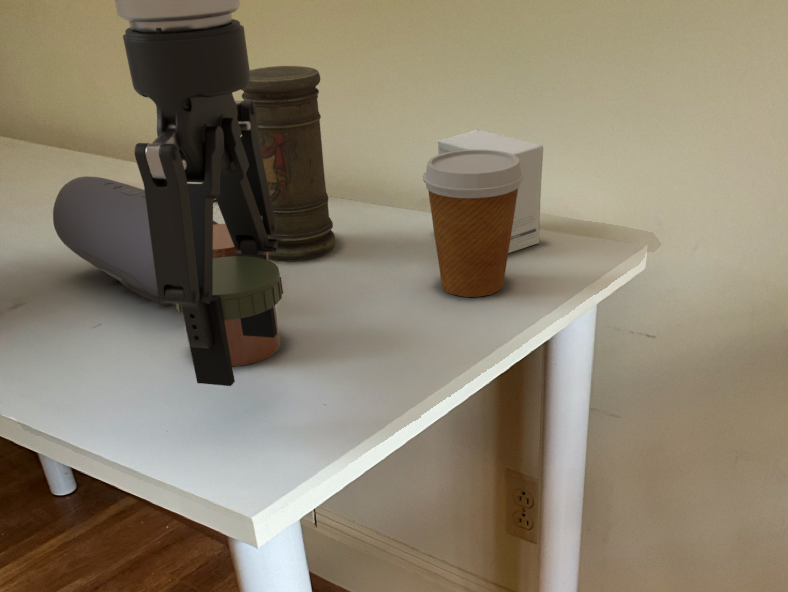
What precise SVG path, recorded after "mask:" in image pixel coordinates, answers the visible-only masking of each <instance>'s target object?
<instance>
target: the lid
mask: <svg viewBox="0 0 788 592" xmlns="http://www.w3.org/2000/svg"><path fill="white" fill-rule="evenodd" d="M283 294H284V290H283V281H282V276H281V273H280V268H279V266H278V265H277V264H276V263H274V262H273V261H271V260H270V259H269V260H265V259H262V258H256V257H248V256H231V257H220V258H213V293H212V297H220V300H221V305H222V311H223V317H224V320H233V319H240V318H245V317H249V316H253V315H256V314H259V313H262V312H264V311H267V310H269V309H271V308H272V307H274V306H275V307H276V306H277V305H278V304H279V302H281V300H282V298H283ZM174 308H175V309H176V310H177V311H178V312H179V313H180V314H181V315H183V312H182V308H181V306H180V304H174Z"/></svg>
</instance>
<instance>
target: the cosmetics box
mask: <svg viewBox="0 0 788 592" xmlns="http://www.w3.org/2000/svg"><path fill="white" fill-rule="evenodd" d="M437 146H438V147H437V149H438V151H437V152H438V155H439V154H443V153H447V152H452V151H460V150H496V151H502V152H507V153H510V154H513V155H515V156H517V157H518V158H519V162H520V168H521V170H522V171H523V172H524V178H523V180H522V181H521V185H520V187H519V188H518V193H517V200H516V206H515V213H514V219H513V226H512V232H511V239H510V245H509V252H508V254H510V253H512V252H513V253H514V252H516V251H519V250H522V249H525V248H529V247H531V246H534V245H537V244H540V224H541V223H540V222H541V219H540V218H541V196H542V178H543V177H542V176H543V175H542V174H543V161H544V159H543V158H544V145H542V144H538V143H534V142H531V141H527V140H522V139H519V138H515V137H511V136H509V135H503V134H500V133H496V132H493V131H492V132H491V131H489V130H483V129H479V128H478V129H475V130H470V131H468V132H463V133H460V134H456V135H453V136H448V137H445V138H442V139H439V140H437Z"/></svg>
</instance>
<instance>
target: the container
mask: <svg viewBox="0 0 788 592" xmlns="http://www.w3.org/2000/svg"><path fill="white" fill-rule="evenodd" d="M320 83H321V74H320V71H318V69H316V68H314V67H309V66H301V65H275V66H266V67H258V68H253V69H250V81H249V83H248V84H247V86H245V87H244V88H243V89H241V90H240V91H243V93H241V99H242V101H254V103H255V105H256V112H257V128H258V138H259V143H260V148H261V153H262V158H263V163H264V168H265V173H266V178H267V183H268V188H269V193H270V198H271V203H272V208H273V213H274V218H275V223H276V233H275V235H274V236H268V238H272V239H277V240H278V248H277V251H276V252H268V255H269V260H275V261H282V262H283V261H284V262H295V261H297V262H298V261H305V260H311V259H316V258H320V257H322V256H324V255H326V254H328V253H330V252H331V251H332V250H333V249H334V248H335V245H336V235H335V233H334V232H333V230H332V229H333V228H334V223H333V221H332V219H331V217H330V209H329V196H328V193H327V187H326V178H325V167H324V166H325V165H324V154H323V143H322V132H321V119H322V117H321V113H320V111H319V101H318V98H319V93H320V90H319V89H318V88H317V86H318V85H319V84H320ZM261 219H262V216H261Z"/></svg>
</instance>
